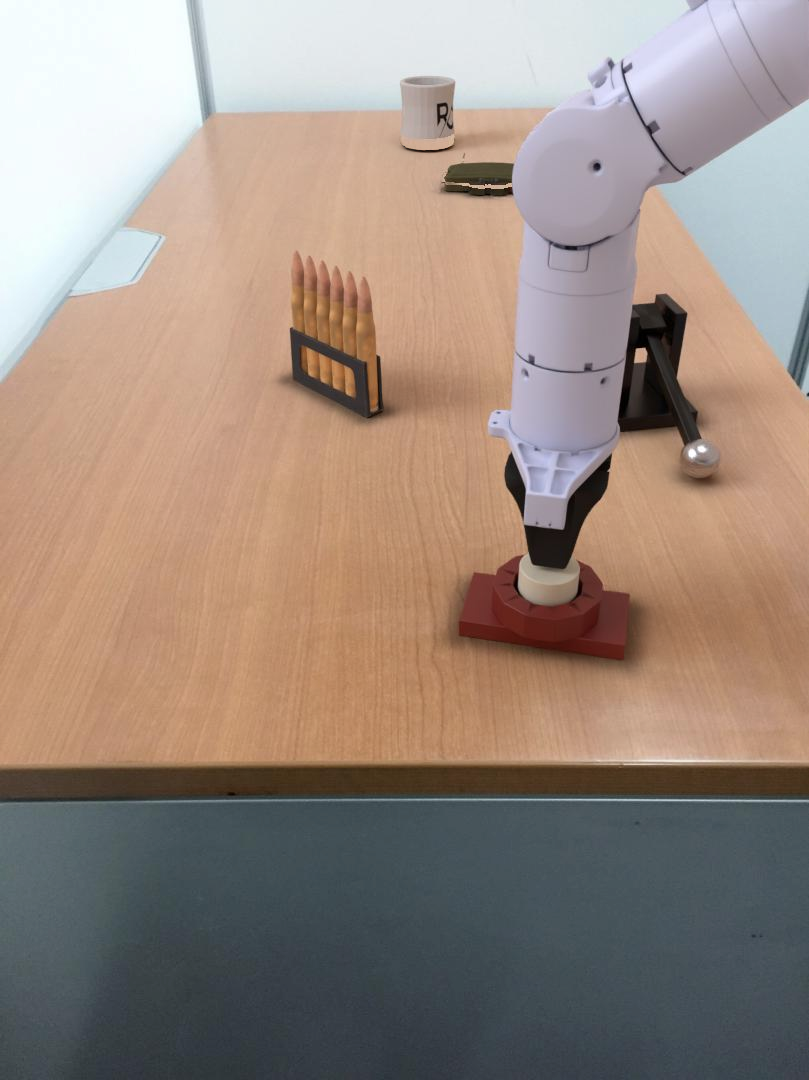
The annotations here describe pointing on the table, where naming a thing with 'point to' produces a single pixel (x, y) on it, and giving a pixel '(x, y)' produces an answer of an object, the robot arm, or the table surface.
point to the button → (548, 582)
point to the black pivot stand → (651, 373)
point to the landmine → (480, 177)
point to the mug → (427, 107)
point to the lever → (675, 395)
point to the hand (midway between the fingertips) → (549, 560)
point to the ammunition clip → (334, 337)
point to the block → (546, 614)
